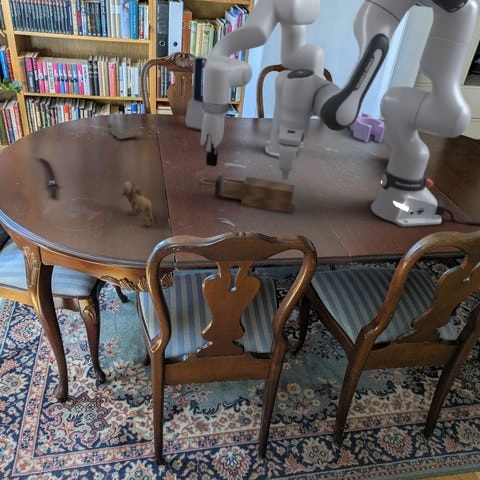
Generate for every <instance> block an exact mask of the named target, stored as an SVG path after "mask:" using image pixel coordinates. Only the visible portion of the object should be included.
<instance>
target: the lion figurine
mask: <svg viewBox="0 0 480 480" xmlns="http://www.w3.org/2000/svg"><path fill="white" fill-rule="evenodd" d="M119 193H120V194H121V196H122V197H124V196H125V198H126V199H127V200H128V202H129V203H130V207H131V211H130V212H129V213H130V215H135V214H136V211H137V212H141V214H142V216H143V218H144V219H145V223H144V225H145V227H149V226H150V221H152V223H153V225H155V226H159V222H156V221H155V219H154V217H153V216H154V215H153V204H152V202H151V200H150V199H148V198H146V197H145V196H144V195H143V194H142V192H141V190H140V187H138V185H136V184H135V183H133V182H132V181H125V182H124V186H122V188H121V189H119ZM136 207H137V208H136ZM148 214H149V216H148Z"/></svg>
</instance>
